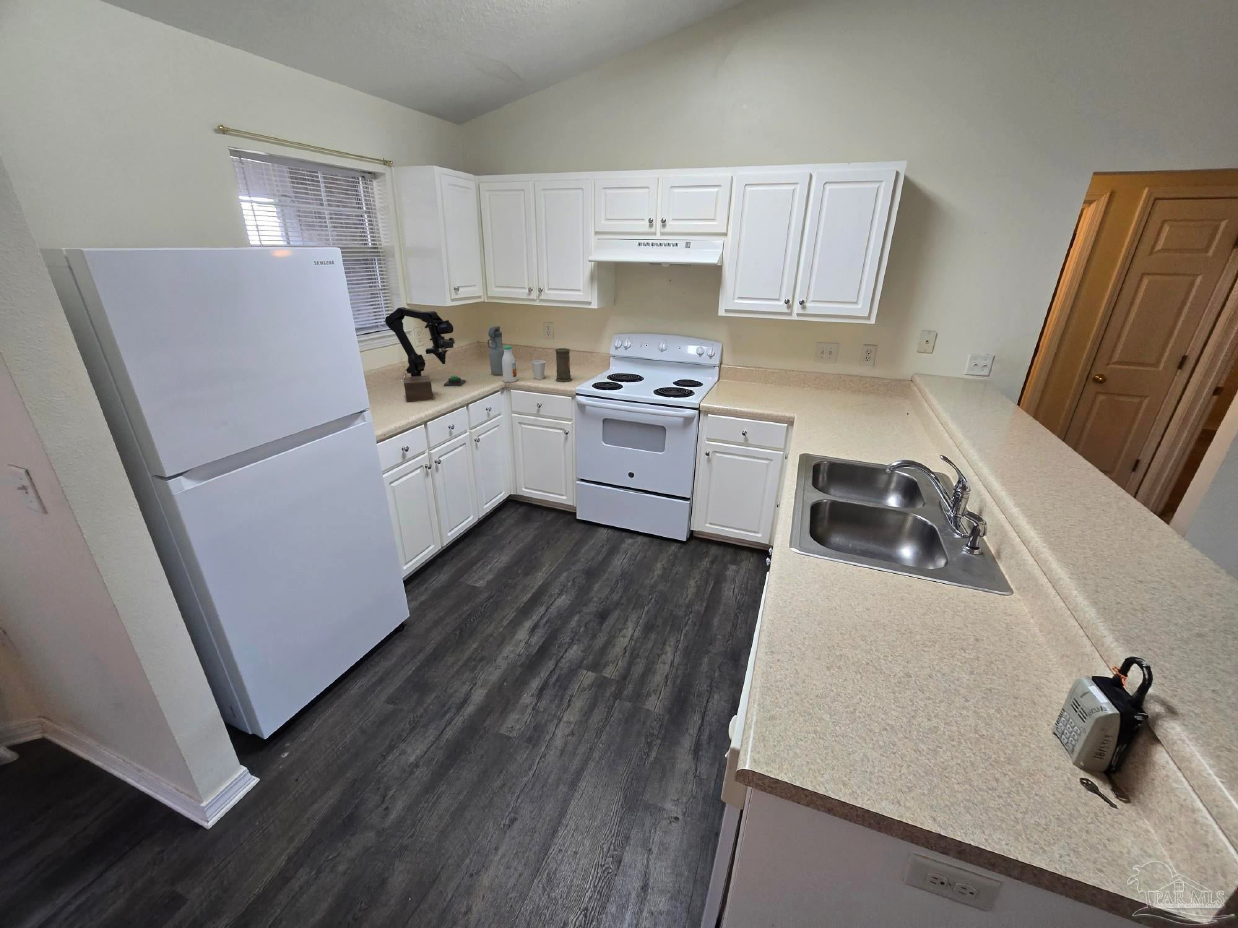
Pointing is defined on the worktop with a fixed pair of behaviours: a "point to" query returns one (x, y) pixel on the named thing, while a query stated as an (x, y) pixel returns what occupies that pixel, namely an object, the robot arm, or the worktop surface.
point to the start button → (454, 377)
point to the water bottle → (496, 350)
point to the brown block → (418, 388)
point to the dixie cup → (538, 368)
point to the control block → (454, 382)
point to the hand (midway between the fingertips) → (444, 364)
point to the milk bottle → (509, 365)
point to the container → (563, 365)
